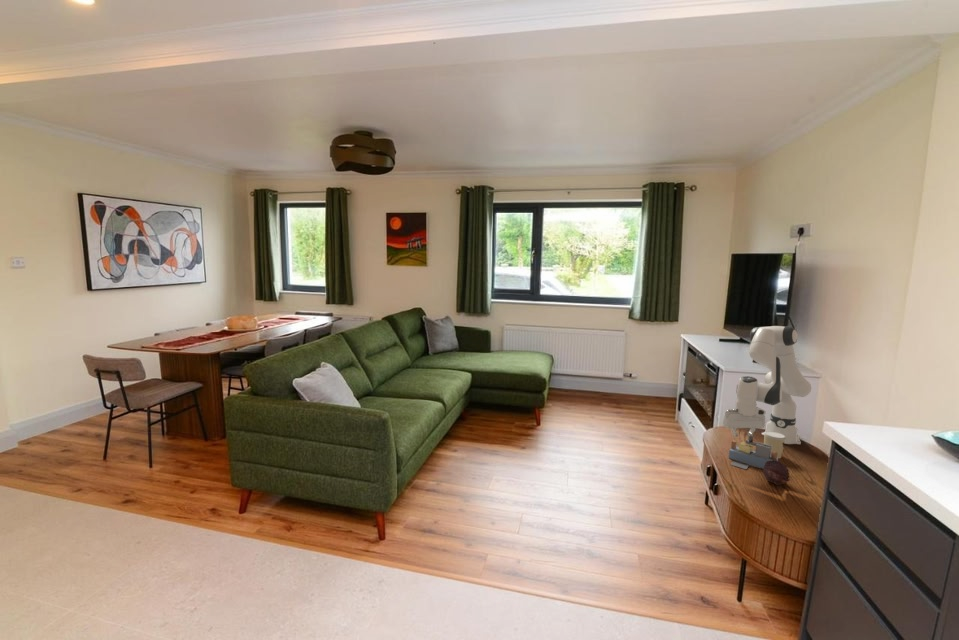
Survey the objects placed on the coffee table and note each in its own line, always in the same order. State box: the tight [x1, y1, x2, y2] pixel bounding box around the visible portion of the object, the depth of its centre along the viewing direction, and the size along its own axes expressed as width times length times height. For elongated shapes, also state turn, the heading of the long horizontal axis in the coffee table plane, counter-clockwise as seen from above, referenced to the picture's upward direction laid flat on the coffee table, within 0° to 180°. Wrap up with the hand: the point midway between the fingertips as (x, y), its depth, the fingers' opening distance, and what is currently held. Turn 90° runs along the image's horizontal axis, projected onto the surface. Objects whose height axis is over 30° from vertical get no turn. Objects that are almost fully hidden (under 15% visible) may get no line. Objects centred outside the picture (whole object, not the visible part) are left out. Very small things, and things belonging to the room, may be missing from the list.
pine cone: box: [762, 460, 790, 486], centre depth 196 cm, size 18×10×10 cm, turn 159°
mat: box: [730, 460, 750, 470], centre depth 213 cm, size 6×7×1 cm
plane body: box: [728, 439, 779, 470], centre depth 216 cm, size 8×20×11 cm, turn 47°
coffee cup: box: [763, 431, 785, 459], centre depth 225 cm, size 9×9×12 cm
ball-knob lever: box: [744, 435, 764, 447], centre depth 215 cm, size 2×8×4 cm, turn 47°
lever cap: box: [738, 441, 754, 454], centre depth 218 cm, size 5×5×4 cm
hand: (742, 435), depth 211 cm, fingers open, 7 cm apart
